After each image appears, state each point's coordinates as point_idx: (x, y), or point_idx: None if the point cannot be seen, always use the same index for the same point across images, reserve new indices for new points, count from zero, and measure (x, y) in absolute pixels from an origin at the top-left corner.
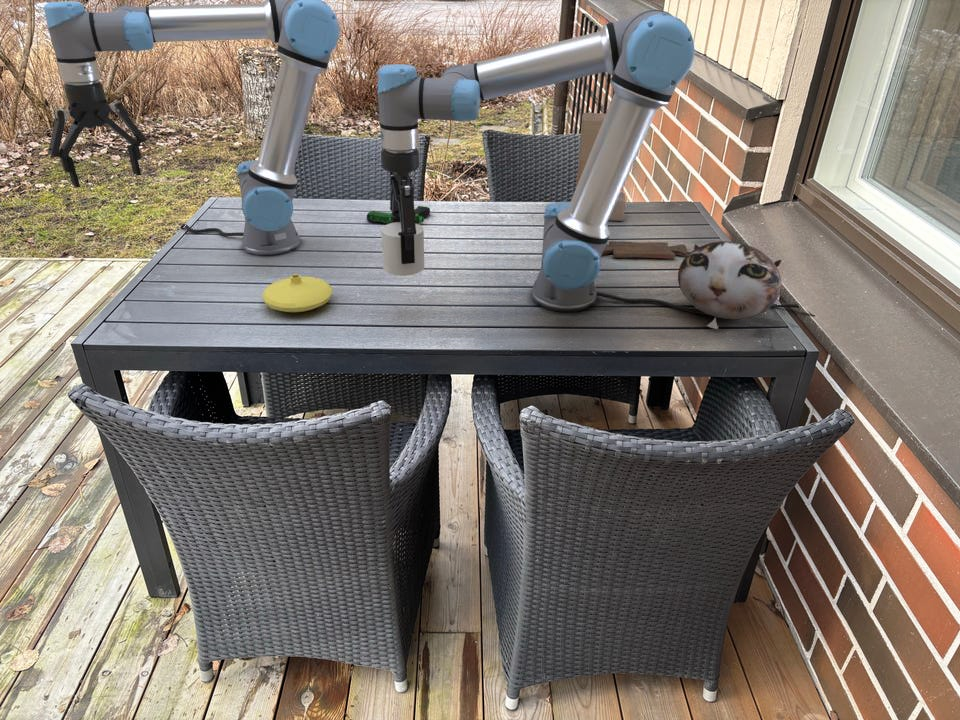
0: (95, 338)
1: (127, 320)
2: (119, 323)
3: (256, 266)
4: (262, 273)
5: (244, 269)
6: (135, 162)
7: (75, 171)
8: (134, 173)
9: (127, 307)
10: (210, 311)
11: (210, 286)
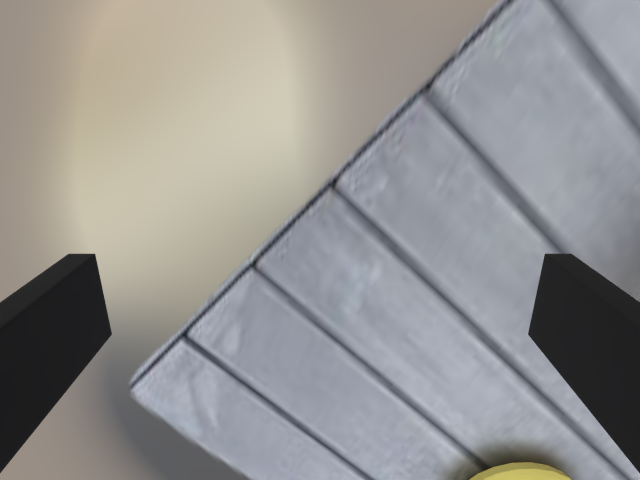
0: (150, 388)
1: (224, 359)
2: (207, 361)
3: None
4: None
5: None
6: (591, 406)
7: (38, 420)
8: (541, 279)
9: (245, 305)
10: (371, 422)
11: (440, 324)
